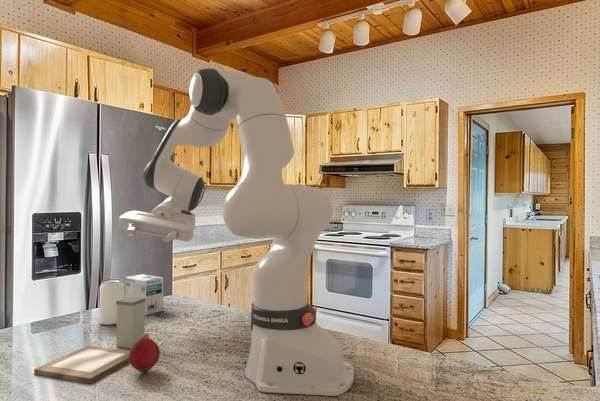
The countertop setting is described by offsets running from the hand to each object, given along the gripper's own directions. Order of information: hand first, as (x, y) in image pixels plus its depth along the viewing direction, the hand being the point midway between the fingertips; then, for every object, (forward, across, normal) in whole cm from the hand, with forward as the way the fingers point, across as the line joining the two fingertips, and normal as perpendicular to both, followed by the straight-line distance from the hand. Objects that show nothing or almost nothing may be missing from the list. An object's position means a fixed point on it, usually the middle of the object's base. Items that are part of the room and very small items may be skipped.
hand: (147, 236), depth 106 cm
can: (-2, -9, +30) cm, 31 cm away
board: (+26, -1, +20) cm, 33 cm away
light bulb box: (-14, -4, +33) cm, 36 cm away
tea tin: (+14, +3, +23) cm, 27 cm away
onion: (+29, +12, +17) cm, 36 cm away
